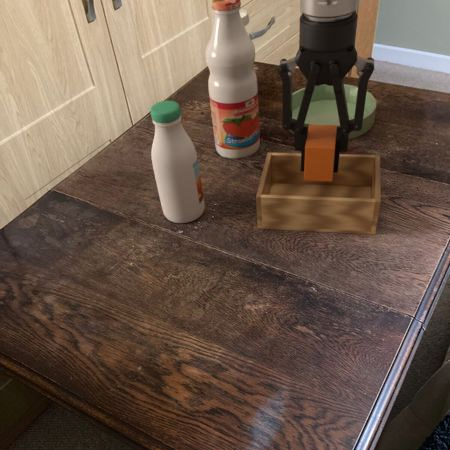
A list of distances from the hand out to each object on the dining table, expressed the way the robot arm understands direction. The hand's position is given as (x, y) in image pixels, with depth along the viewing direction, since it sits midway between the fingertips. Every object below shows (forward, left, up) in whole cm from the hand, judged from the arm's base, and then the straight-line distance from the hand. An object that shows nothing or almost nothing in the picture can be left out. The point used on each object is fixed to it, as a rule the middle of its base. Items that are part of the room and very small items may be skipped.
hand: (319, 167), depth 82 cm
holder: (0, 0, -8) cm, 8 cm away
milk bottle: (+24, +3, -8) cm, 26 cm away
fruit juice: (+18, -19, -8) cm, 27 cm away
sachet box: (0, 0, 0) cm, 0 cm away
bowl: (0, -31, -8) cm, 32 cm away
